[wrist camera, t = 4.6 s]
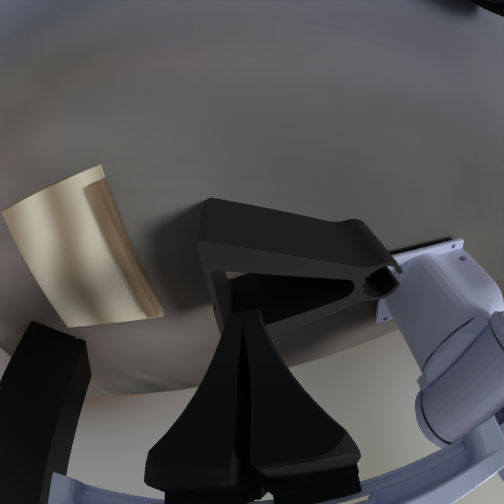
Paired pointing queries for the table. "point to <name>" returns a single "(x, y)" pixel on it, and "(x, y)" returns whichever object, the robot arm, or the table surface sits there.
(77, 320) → the book stand
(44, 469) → the tissue box
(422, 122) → the table surface
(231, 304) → the dark grey open container
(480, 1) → the controller
